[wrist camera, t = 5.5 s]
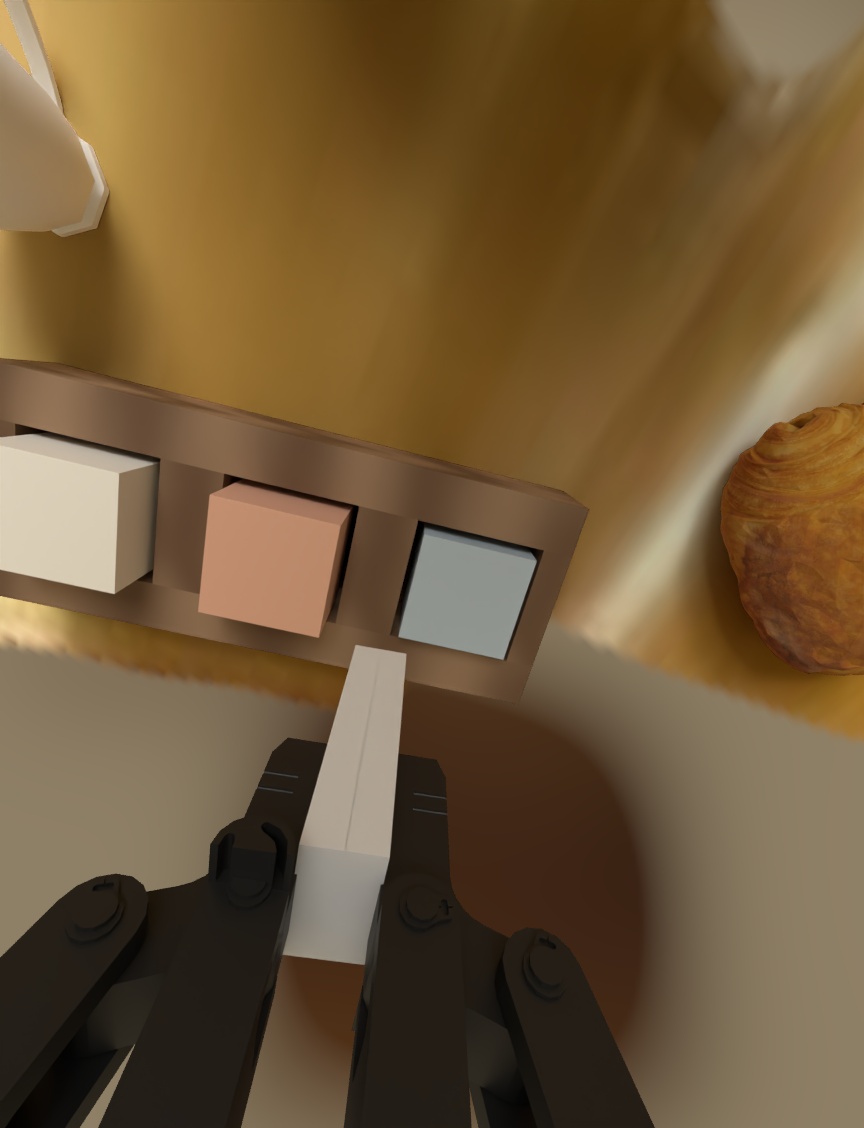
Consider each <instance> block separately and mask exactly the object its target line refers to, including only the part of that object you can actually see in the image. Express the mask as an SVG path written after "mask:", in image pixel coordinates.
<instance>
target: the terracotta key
mask: <svg viewBox="0 0 864 1128" xmlns="http://www.w3.org/2000/svg"><path fill="white" fill-rule="evenodd" d="M354 507H355V505H353V504H349V503H345V502H340V501H336V500H332V499H328V498H324V497H320V496H315V495H311V494H307V493H303V492H299V491H295V490H290V489H286V488H282V487H278V486H274V485H270V484H266V483H261V482H257V481H253V480H249V479H245V478H244V479H242V480H240V481H238V482H236V483H234V484H232V485H229V486H227V487H225V488H223V489H221V490H219V491H217V492H214V493H212V494H210V497H209V507H208V517H207V527H206V537H205V547H204V557H203V567H202V577H201V587H200V597H199V607H198V612H201V613H205V614H210V615H215V616H219V617H224V618H229V619H233V620H238V621H243V622H247V623H252V624H257V625H261V626H266V627H271V628H275V629H280V630H285V631H289V632H294V633H299V634H303V635H308V636H313V637H318V638H319V636H320V634H321V632H322V629H323V627H324V625H325V623H326V620H327V618H328V616H329V614H330V611H331V609H332V607H333V604H334V602H335V600H336V596H337V591H338V586H339V581H340V576H341V571H342V566H343V561H344V556H345V551H346V546H347V541H348V536H349V531H350V527H351V522H352V517H353V512H354Z"/></svg>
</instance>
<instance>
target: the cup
mask: <svg viewBox="0 0 864 1128" xmlns="http://www.w3.org/2000/svg"><path fill="white" fill-rule="evenodd" d="M4 3H5V5H6V7H7V10H8V12H9V15H10V17H11V20H12V22H13V25H14V27H15V30H16V33H17V35H18V38H19V40H20V43H21V46H22V48H23V51H24V54H25V56H26V59H27V61H28V64H29V67H30V71H31V74H32V76H31V75H30V74H29V73H28V72H27V71H26V70H25V69H24V68H23V67H22V66H21V65H20V63H19V62H18V61H17V60H16V59H15V58H14V57H13V56H12V55H11V54H10V53H9V52H8V51H7V50H6V49H5V47H4V46H3V45H2V44H1V43H0V229H1V230H6V231H34V232H46V231H49V230H50V231H52V232H54V233H55V234H57V235H59V236H61V237H67V236H71V235H74V234H78V233H81V232H85V231H89V230H92V229H96V228H97V227H98V224H99V221H100V218H101V215H102V212H103V209H104V206H105V203H106V201H107V198H108V195H109V192H110V191H109V189H108V186H107V183H106V181H105V178H104V175H103V173H102V170H101V167H100V165H99V162H98V159H97V157H96V154H95V151H94V149H93V147H92V146H91V145H89V144H88V143H86V142H85V141H84V140H82V139H81V138H79V137H78V136H77V133H76V131H75V130H74V128H73V127H72V126H71V124H70V123H69V122H68V120H67V119H66V118H65V116H64V115H63V106H62V103H61V99H60V96H59V92H58V88H57V85H56V81H55V77H54V74H53V70H52V67H51V64H50V61H49V58H48V55H47V53H46V50H45V47H44V44H43V41H42V38H41V36H40V33H39V30H38V27H37V24H36V22H35V19H34V16H33V14H32V11H31V8H30V6H29V3H28V0H4Z"/></svg>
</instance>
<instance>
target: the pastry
mask: <svg viewBox="0 0 864 1128" xmlns="http://www.w3.org/2000/svg"><path fill="white" fill-rule="evenodd" d="M720 512H721V516H722V521H721V526H720V531H721V534H722V537H723V541H724V544H725V546H726V548H727V550H728V554H729V559H730V563H731V566H732V568H733V570H734V572H735V574H736V576H737V578H738V588H739V593H740V600H741V602H742V605H743V608H744V609H745V611H746V612H747V613H748V614H749V616H750V617H751V618H752V619H753V621H754V627H755V628H756V629H757V630H758V633H759V636H760V638H761V639H762V640H763V642H764V643H765V644H766V645H767V646H768V648H769V649H770V650H771V651H772V652H773V653H774V655H776V656H777V657H778V658H780V659H781V660H783V661H784V662H785V663H787V664H788V665H790V666H791V667H792V668H794V669H797V670H800V671H803V672H805V673H808V674H810V673H814V672H821V673H824V674H827V675H844V676H845V675H850V674H852V675H864V403H863V404H861V405H853V404H851V405H849V404H844V403H842V404H840V405H839V406H836V407H821V408H815V409H814V410H813V411H811V412H808V413H804V414H801V415H799V416H797V417H796V418H794V419H793V420H791V421H790V422H788V423H781V422H779V423H776V424H774V425H773V426H771V427H770V428H769V429H768V430H767V431H766V432H765V433H764V434H763V436H762V437H761V438H760V440H759V441H758V442H757V444H756V445H755V446H754V447H752V448H750V449H747V450H746V451H744V452H743V453H742V454H740V456H739V460H738V462H737V463H736V465H735V466H734V467H733V469H732V471H731V473H730V477H729V480H728V482H727V483H726V485H725V487H724V488H723V496H722V499H721V511H720Z"/></svg>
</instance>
